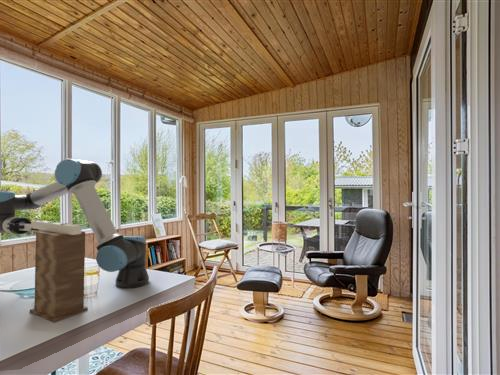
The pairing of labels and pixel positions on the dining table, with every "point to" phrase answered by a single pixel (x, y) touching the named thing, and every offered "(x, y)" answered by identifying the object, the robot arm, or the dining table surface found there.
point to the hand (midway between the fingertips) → (47, 227)
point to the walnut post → (59, 275)
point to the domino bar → (56, 227)
